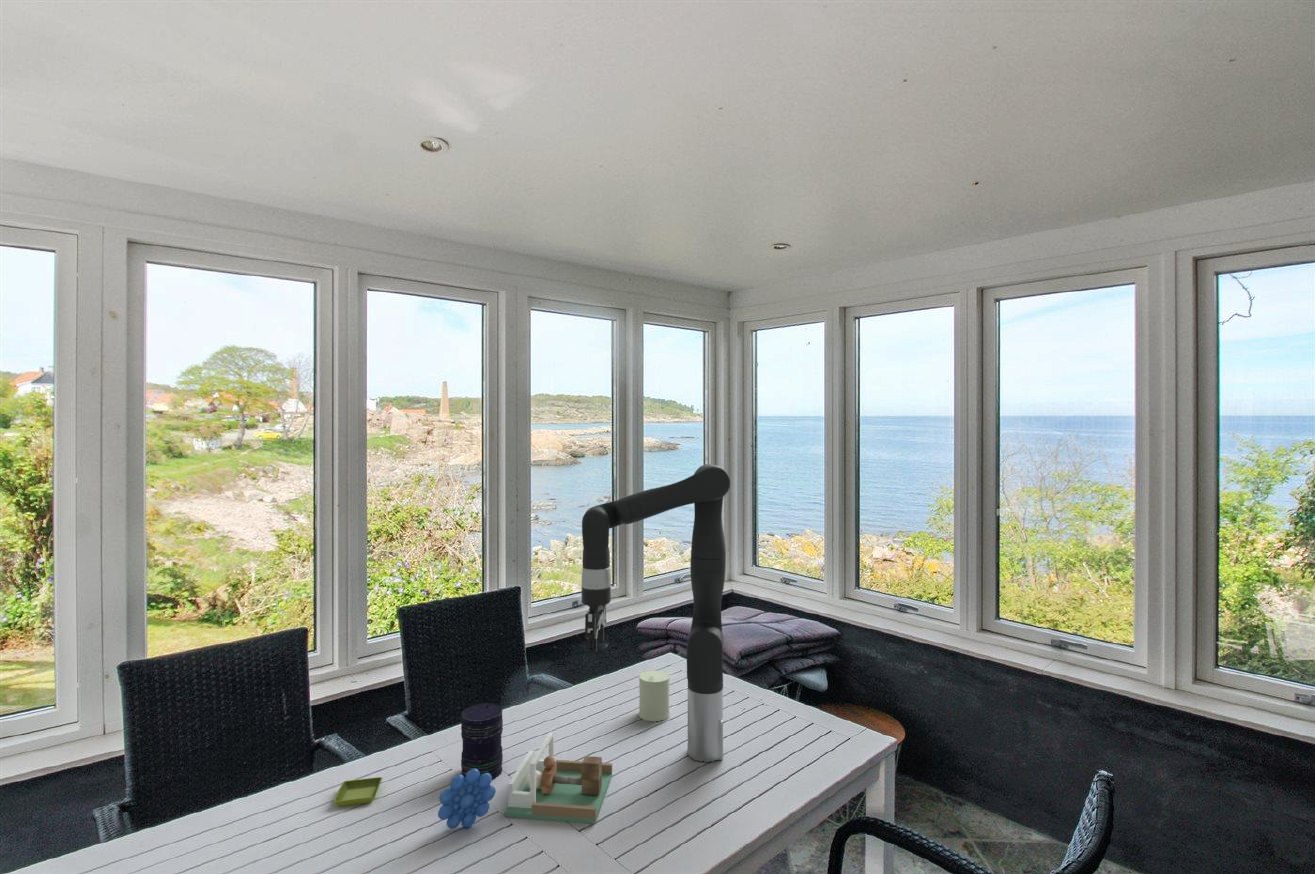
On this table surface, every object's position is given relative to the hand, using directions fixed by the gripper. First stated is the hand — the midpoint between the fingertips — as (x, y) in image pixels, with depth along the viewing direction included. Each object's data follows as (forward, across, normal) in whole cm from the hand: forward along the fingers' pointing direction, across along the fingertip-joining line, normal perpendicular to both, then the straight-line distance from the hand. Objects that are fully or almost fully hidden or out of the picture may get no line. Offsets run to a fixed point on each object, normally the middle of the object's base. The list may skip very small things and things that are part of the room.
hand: (595, 647), depth 160 cm
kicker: (+27, -18, +2) cm, 32 cm away
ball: (+25, -18, +10) cm, 33 cm away
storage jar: (+28, -11, +26) cm, 40 cm away
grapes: (+28, -31, +21) cm, 47 cm away
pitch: (+28, -18, +4) cm, 34 cm away
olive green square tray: (+29, -24, +50) cm, 62 cm away
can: (+28, +26, -12) cm, 40 cm away
